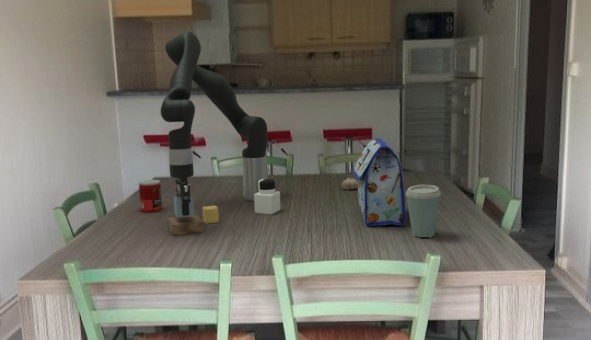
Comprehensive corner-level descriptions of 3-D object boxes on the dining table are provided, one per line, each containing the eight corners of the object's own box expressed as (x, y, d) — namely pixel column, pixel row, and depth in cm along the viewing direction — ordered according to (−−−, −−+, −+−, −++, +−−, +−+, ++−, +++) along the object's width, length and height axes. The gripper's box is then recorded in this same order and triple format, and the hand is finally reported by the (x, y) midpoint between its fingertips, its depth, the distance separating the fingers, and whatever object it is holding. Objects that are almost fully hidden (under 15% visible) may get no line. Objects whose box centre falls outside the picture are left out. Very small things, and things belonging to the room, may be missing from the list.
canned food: (157, 212, 209) (155, 183, 207) (137, 212, 211) (134, 183, 209) (165, 207, 217) (163, 179, 215) (146, 207, 218) (144, 179, 216)
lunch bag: (351, 210, 205) (351, 137, 201) (397, 209, 205) (398, 136, 200) (358, 228, 183) (357, 146, 178) (409, 227, 183) (410, 145, 178)
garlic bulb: (362, 188, 243) (362, 170, 241) (354, 191, 237) (354, 173, 235) (346, 186, 247) (346, 168, 245) (338, 190, 241) (338, 171, 239)
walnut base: (197, 224, 192) (197, 214, 192) (203, 232, 183) (203, 221, 182) (167, 227, 189) (167, 217, 188) (172, 235, 179) (171, 225, 179)
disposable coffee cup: (433, 242, 166) (434, 192, 164) (399, 237, 172) (399, 189, 169) (445, 233, 175) (446, 185, 173) (411, 228, 181) (412, 182, 178)
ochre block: (215, 219, 199) (215, 205, 198) (218, 222, 194) (218, 208, 194) (203, 220, 197) (202, 206, 196) (205, 223, 193) (205, 209, 192)
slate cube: (191, 211, 188) (190, 195, 187) (194, 215, 183) (193, 199, 182) (174, 213, 186) (173, 197, 185) (177, 217, 181) (176, 200, 180)
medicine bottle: (280, 210, 209) (279, 178, 207) (271, 214, 202) (270, 182, 200) (263, 208, 212) (262, 177, 210) (254, 213, 205) (253, 180, 203)
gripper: (197, 164, 176) (200, 216, 179) (188, 158, 190) (191, 207, 193) (172, 166, 174) (176, 219, 177) (166, 159, 187) (169, 209, 190)
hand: (184, 212), depth 185 cm, fingers closed on slate cube, 5 cm apart
